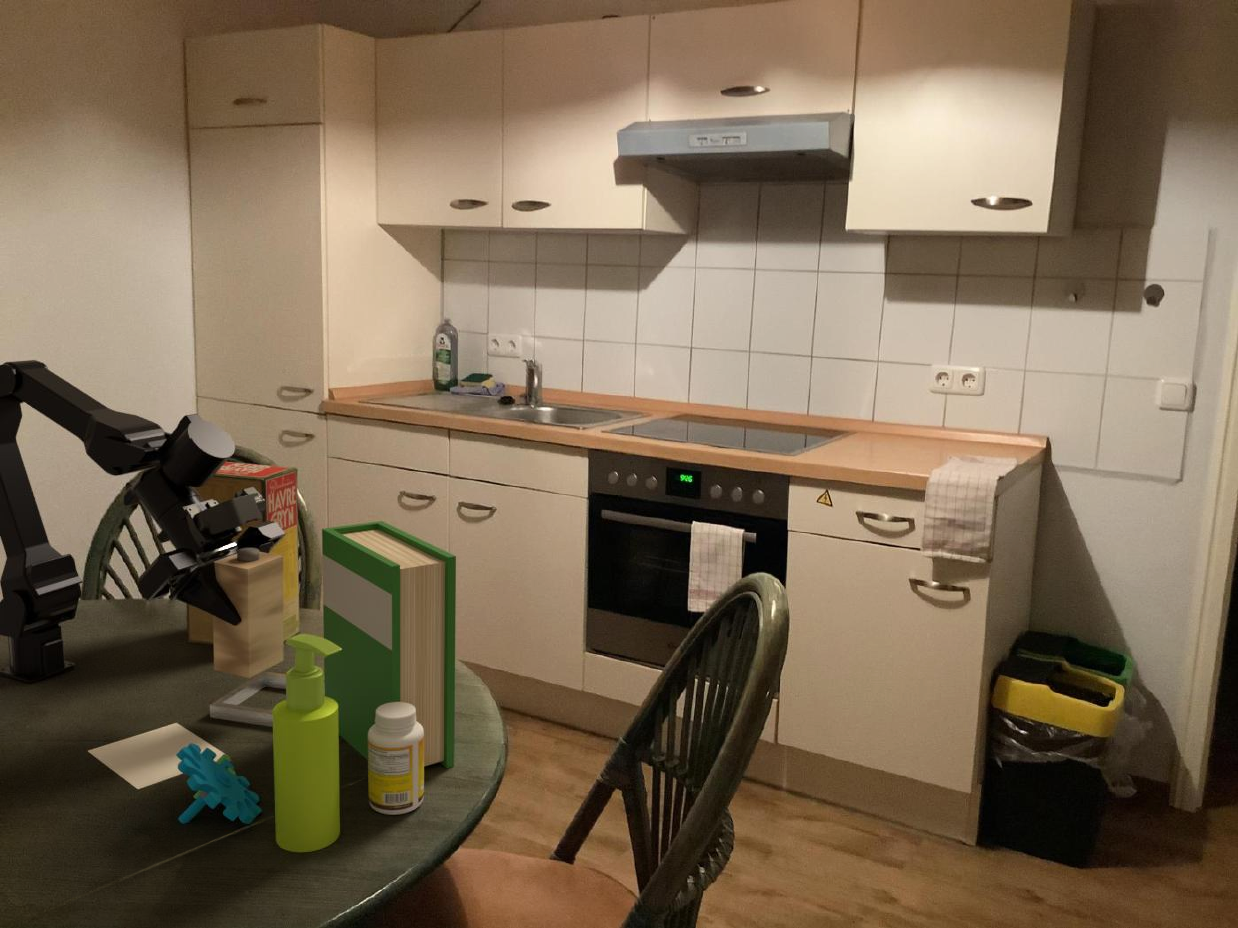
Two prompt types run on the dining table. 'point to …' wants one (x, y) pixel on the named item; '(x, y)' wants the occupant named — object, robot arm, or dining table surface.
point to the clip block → (250, 613)
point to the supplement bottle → (396, 759)
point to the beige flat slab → (150, 754)
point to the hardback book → (390, 632)
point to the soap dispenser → (306, 753)
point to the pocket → (229, 702)
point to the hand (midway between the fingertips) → (257, 615)
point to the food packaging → (280, 508)
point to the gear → (216, 785)
